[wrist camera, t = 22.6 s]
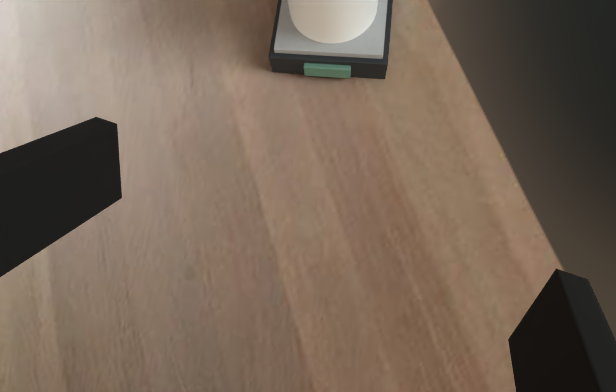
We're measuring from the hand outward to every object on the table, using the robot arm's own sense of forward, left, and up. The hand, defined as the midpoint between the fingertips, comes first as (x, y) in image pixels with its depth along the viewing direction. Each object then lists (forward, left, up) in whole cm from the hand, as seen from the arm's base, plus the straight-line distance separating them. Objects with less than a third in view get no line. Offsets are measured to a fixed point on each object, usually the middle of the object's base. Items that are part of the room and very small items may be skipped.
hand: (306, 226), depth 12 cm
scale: (+2, -25, -23) cm, 34 cm away
